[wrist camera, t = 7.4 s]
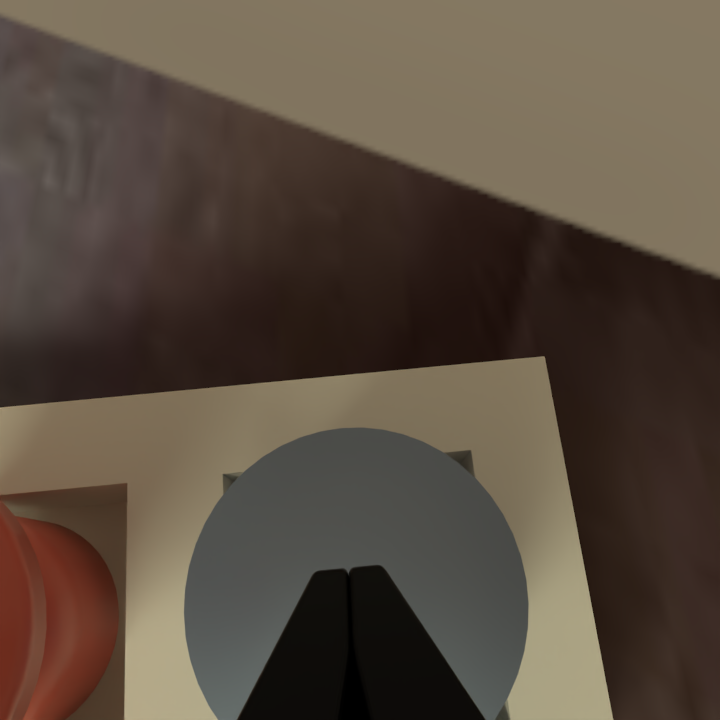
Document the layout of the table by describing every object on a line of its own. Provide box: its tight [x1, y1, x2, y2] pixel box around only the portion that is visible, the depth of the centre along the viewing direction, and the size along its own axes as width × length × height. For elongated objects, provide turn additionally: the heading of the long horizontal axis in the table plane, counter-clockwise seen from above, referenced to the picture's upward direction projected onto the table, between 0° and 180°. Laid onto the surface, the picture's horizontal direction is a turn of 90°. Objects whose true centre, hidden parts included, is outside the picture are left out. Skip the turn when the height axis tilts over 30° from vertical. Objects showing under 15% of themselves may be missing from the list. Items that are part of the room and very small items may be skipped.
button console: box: [0, 356, 613, 720], centre depth 17 cm, size 10×26×4 cm, turn 95°
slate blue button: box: [184, 427, 529, 720], centre depth 15 cm, size 6×6×6 cm
